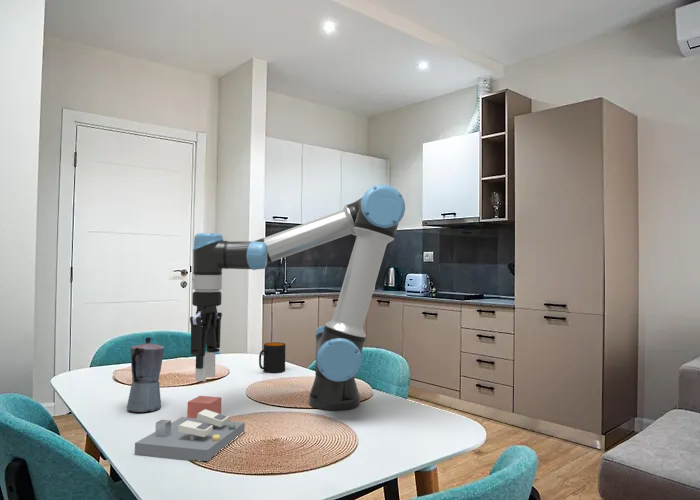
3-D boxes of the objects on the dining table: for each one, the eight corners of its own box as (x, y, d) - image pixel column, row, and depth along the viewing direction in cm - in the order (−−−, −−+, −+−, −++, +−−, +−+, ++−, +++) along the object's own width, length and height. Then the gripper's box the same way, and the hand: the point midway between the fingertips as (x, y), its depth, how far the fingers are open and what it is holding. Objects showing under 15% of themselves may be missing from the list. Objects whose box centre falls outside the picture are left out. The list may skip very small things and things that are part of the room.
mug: (251, 373, 193) (251, 345, 193) (274, 368, 202) (274, 341, 202) (266, 376, 188) (267, 347, 188) (289, 370, 197) (290, 343, 197)
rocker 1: (212, 431, 115) (213, 425, 115) (204, 437, 112) (205, 430, 112) (186, 426, 117) (187, 419, 117) (178, 431, 113) (178, 424, 113)
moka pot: (170, 402, 151) (171, 334, 152) (151, 418, 136) (153, 342, 136) (137, 402, 151) (139, 334, 152) (115, 417, 136) (117, 342, 136)
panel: (244, 432, 125) (244, 418, 125) (206, 462, 107) (207, 444, 107) (181, 427, 129) (181, 412, 129) (134, 454, 110) (135, 437, 111)
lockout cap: (221, 415, 139) (221, 397, 139) (209, 423, 133) (210, 403, 133) (199, 414, 140) (199, 395, 140) (187, 421, 134) (187, 401, 134)
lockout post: (170, 433, 117) (171, 420, 117) (164, 437, 114) (165, 423, 114) (161, 432, 117) (161, 419, 117) (155, 436, 115) (155, 422, 115)
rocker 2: (227, 422, 123) (228, 416, 123) (220, 427, 119) (222, 420, 119) (203, 414, 124) (205, 408, 124) (196, 419, 121) (197, 412, 121)
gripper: (209, 288, 146) (208, 371, 146) (177, 292, 129) (174, 385, 129) (234, 289, 145) (232, 372, 144) (204, 293, 128) (202, 387, 127)
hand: (205, 378), depth 137 cm, fingers open, 4 cm apart
